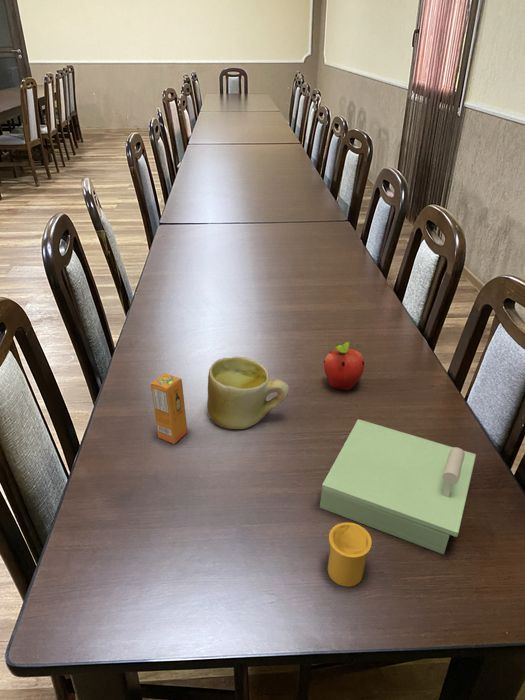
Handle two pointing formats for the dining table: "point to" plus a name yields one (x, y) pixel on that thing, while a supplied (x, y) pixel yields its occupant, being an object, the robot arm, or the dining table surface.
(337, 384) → the apple
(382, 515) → the green tray box
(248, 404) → the mug
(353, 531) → the cup
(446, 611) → the dining table surface
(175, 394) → the supplement box
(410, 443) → the lid
